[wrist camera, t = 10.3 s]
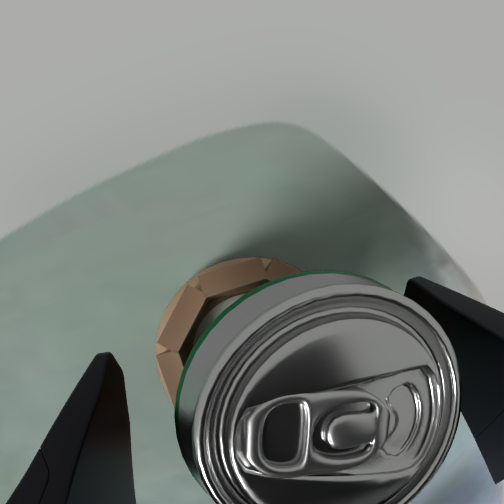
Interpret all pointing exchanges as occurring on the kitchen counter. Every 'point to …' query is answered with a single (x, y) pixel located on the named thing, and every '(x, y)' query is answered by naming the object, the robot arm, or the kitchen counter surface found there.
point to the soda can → (319, 395)
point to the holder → (206, 309)
